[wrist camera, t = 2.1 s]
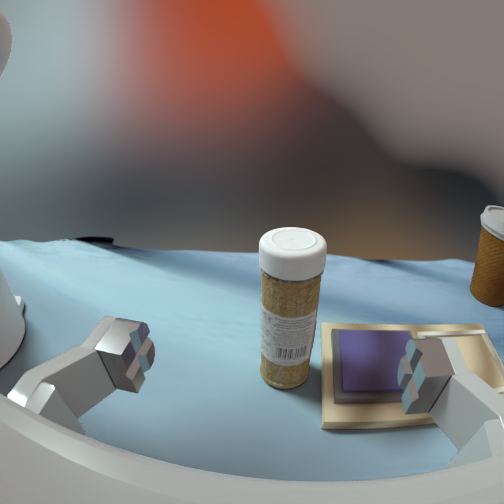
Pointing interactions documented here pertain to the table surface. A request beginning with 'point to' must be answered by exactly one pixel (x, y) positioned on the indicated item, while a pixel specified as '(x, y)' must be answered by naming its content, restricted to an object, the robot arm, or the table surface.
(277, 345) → the sprinkles bottle
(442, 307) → the table surface
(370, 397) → the stamp station
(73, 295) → the table surface
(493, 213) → the disposable coffee cup
